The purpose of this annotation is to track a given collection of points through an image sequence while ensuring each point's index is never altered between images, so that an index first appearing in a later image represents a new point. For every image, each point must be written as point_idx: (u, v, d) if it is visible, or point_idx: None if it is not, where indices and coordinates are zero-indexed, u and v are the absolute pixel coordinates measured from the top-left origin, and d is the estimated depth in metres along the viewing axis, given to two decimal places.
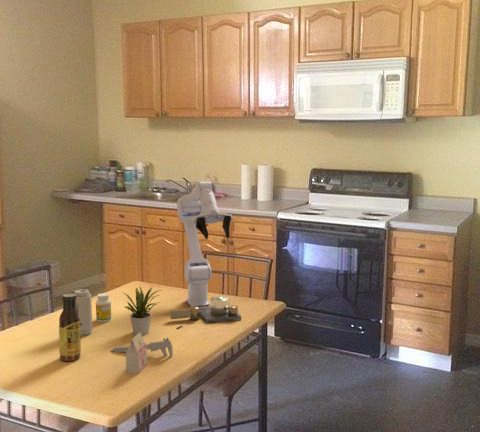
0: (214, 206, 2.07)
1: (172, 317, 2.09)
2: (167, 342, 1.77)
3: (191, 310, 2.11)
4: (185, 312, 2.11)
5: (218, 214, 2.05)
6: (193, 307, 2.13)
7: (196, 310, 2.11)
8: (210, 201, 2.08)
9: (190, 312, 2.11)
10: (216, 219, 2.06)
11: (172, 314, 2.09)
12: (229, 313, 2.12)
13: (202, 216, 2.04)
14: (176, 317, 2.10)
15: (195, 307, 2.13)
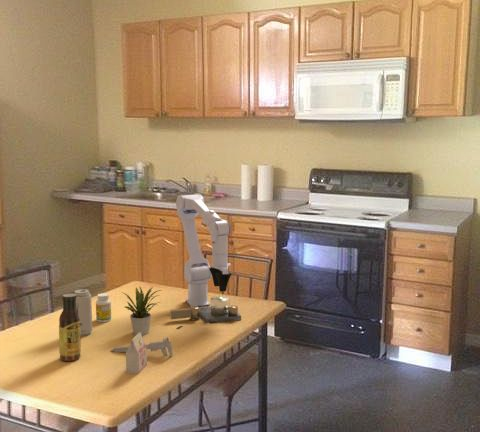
0: None
1: (172, 317, 2.09)
2: (167, 342, 1.77)
3: (191, 310, 2.11)
4: (185, 312, 2.11)
5: None
6: (193, 307, 2.13)
7: (196, 310, 2.11)
8: (223, 253, 2.11)
9: (190, 312, 2.11)
10: None
11: (172, 314, 2.09)
12: (229, 313, 2.12)
13: (226, 268, 2.11)
14: (176, 317, 2.10)
15: (195, 307, 2.13)
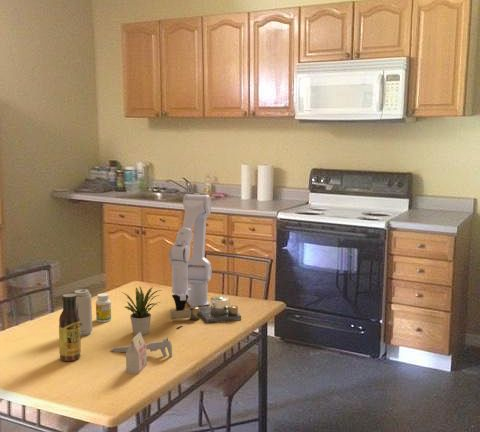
0: None
1: (172, 317, 2.09)
2: (167, 342, 1.77)
3: (191, 310, 2.11)
4: (185, 312, 2.11)
5: None
6: (193, 307, 2.13)
7: (196, 310, 2.11)
8: (176, 278, 2.08)
9: (190, 312, 2.11)
10: None
11: (172, 314, 2.09)
12: (229, 313, 2.12)
13: (185, 294, 2.08)
14: (176, 317, 2.10)
15: (195, 307, 2.13)
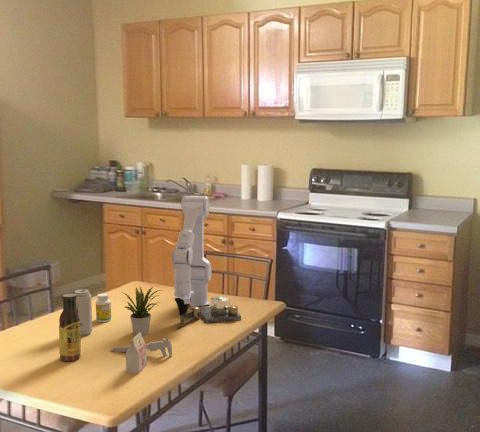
0: None
1: (184, 321, 2.05)
2: (167, 342, 1.77)
3: (195, 310, 2.11)
4: (191, 314, 2.09)
5: None
6: (193, 307, 2.12)
7: (199, 309, 2.12)
8: (180, 281, 2.04)
9: (194, 313, 2.11)
10: None
11: (184, 318, 2.05)
12: (229, 313, 2.12)
13: (189, 297, 2.05)
14: (186, 320, 2.06)
15: (194, 307, 2.13)
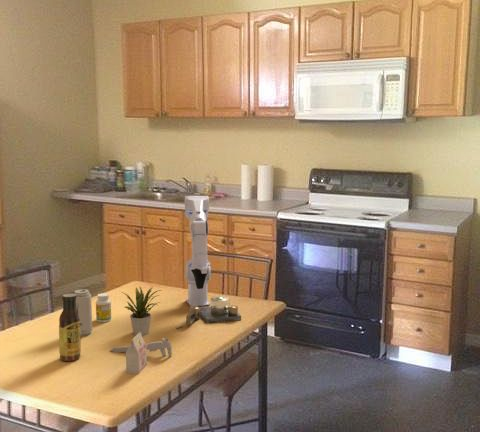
0: None
1: (190, 322, 2.04)
2: (166, 342, 1.77)
3: (196, 310, 2.11)
4: (194, 314, 2.09)
5: None
6: (193, 307, 2.12)
7: (199, 309, 2.12)
8: (199, 252, 2.11)
9: (195, 313, 2.11)
10: None
11: (190, 319, 2.04)
12: (229, 313, 2.12)
13: (206, 268, 2.11)
14: (192, 321, 2.06)
15: (194, 307, 2.13)
